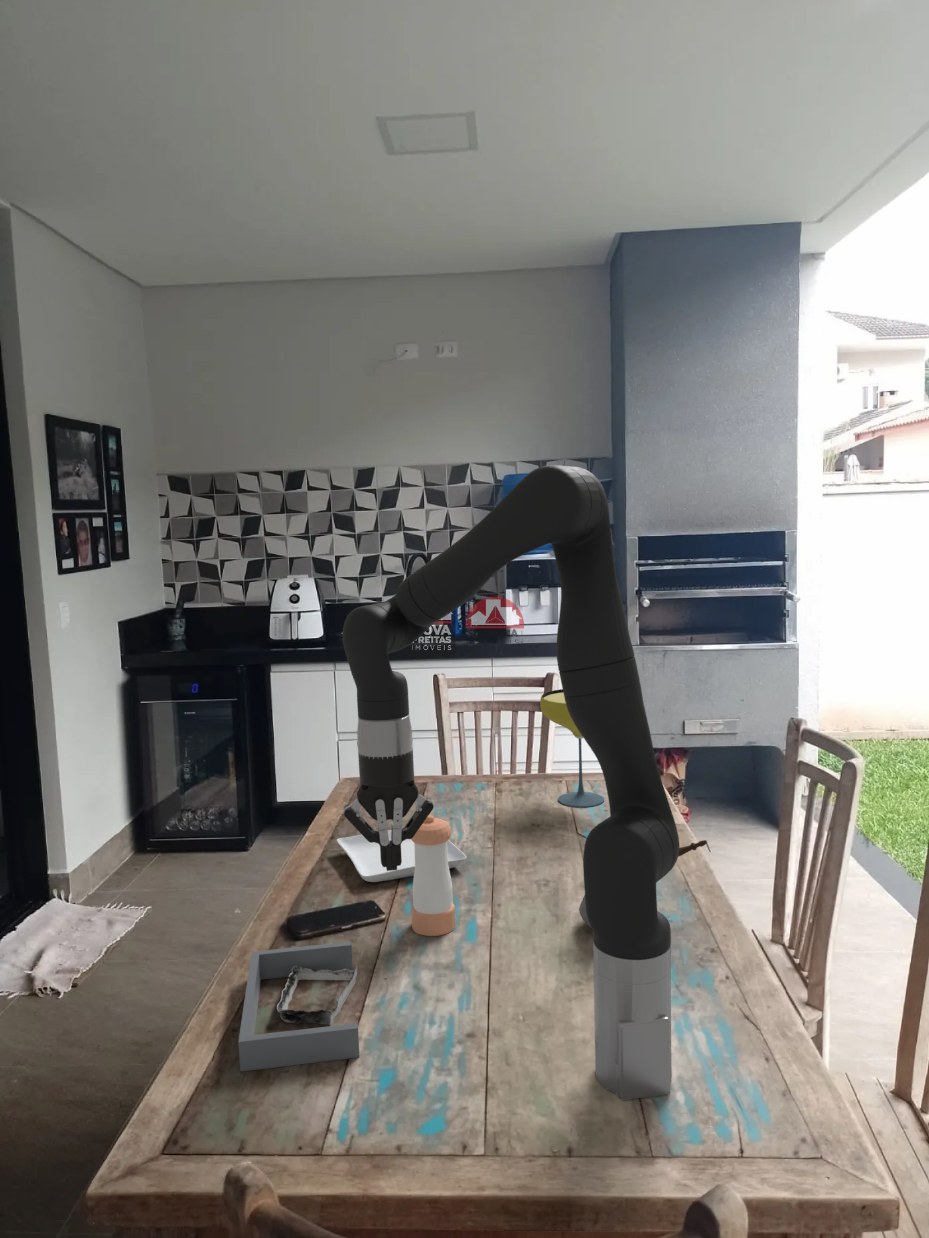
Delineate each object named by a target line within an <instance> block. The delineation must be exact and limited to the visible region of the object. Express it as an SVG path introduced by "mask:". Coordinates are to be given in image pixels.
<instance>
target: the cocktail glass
mask: <svg viewBox="0 0 929 1238" xmlns="http://www.w3.org/2000/svg"><path fill="white" fill-rule="evenodd" d="M539 706H540V711H541V713H542V715H543V716H545V718H547V719H548V720H549V721H551V722H553V723H555V724H556V725H558V726H561V727H563V728H566V730H569V731H570V732H571V733H572V735H573V736H574V738H576V739H578V788H577V791H573V792H572V791H571V792H566V793H563V794H561V795H559V796H558V797H557V801H558V803H560V804H561V805H563V806H567V807H572V808H591V807H592V808H593V807H596V806H600V805H601V804H603V803H604V802H605V798H604V796H603V795H601V794H598V793H595V792H590V791H585V790H584V783H583V759H582V740H583V739H584V738H583V736H582V735H581V733H580V732H579V730H578V729H577V727H576V725H575V724H574V722H573V720H572V718H571V716H570V714H569V712H568V709H567V706H566V702H565V698H564V693H563V688H561V689H554V690H551V691H546V692H544V693H543V694H541V697H540V703H539Z"/></svg>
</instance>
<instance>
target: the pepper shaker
mask: <svg viewBox="0 0 929 1238" xmlns="http://www.w3.org/2000/svg"><path fill="white" fill-rule="evenodd" d="M451 836H452V827H451V826H450V824H449V823H448V822H447V821H446V820H443V819H441V818H437V817H434V816H433V815H430V814H429V815H428V817H427V818H426V820H425V821H424V822H423V824H422V825H421V827H420V828H419V830H418V831H417V832H416V834H415V835H414V837H413V838H412V839H411V840H412V841H413V842H414V850H415V871H414V876H413V880H412V898H413V899H412V900H413V904H412V906H411V927H412V928H411V929H412V931H413V932H415V933H416V934H418V935H421V936H424V937H425V936H427V937H436V936H437V937H438V936H443V935H447V934H449V933H450V932H453V930H454V929H455V928H456V906H455V904H454V902H453V882H452V881H453V880H452V877H451V871H450V869H449V866H448V852H447V841H448V840H450V838H451Z"/></svg>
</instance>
